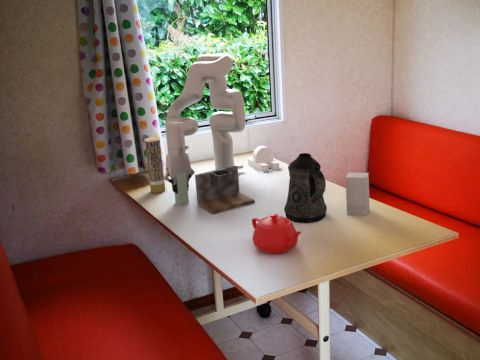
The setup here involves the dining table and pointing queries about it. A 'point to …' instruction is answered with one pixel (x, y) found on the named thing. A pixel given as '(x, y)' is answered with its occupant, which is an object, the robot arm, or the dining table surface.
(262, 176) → the dining table surface
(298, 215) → the beer stein
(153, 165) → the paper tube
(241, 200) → the bracket stand
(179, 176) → the rail post
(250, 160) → the white slotted holder
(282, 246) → the teapot
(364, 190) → the skincare box
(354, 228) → the dining table surface
